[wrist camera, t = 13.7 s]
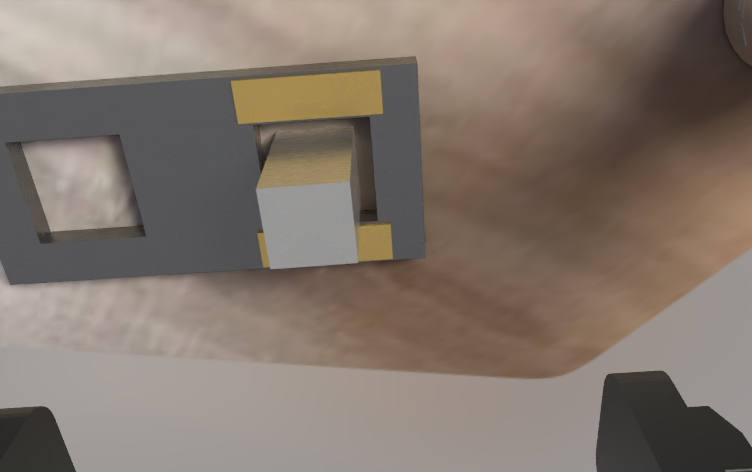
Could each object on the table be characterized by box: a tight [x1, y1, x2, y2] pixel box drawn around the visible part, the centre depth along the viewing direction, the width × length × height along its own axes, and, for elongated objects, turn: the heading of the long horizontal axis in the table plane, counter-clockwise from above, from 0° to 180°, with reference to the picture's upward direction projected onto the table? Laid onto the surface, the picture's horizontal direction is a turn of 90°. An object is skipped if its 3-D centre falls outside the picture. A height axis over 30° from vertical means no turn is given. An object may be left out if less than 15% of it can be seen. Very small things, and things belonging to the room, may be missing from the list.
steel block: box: [256, 126, 360, 269], centre depth 37 cm, size 4×4×8 cm
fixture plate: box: [0, 56, 425, 285], centre depth 40 cm, size 26×12×2 cm, turn 94°
